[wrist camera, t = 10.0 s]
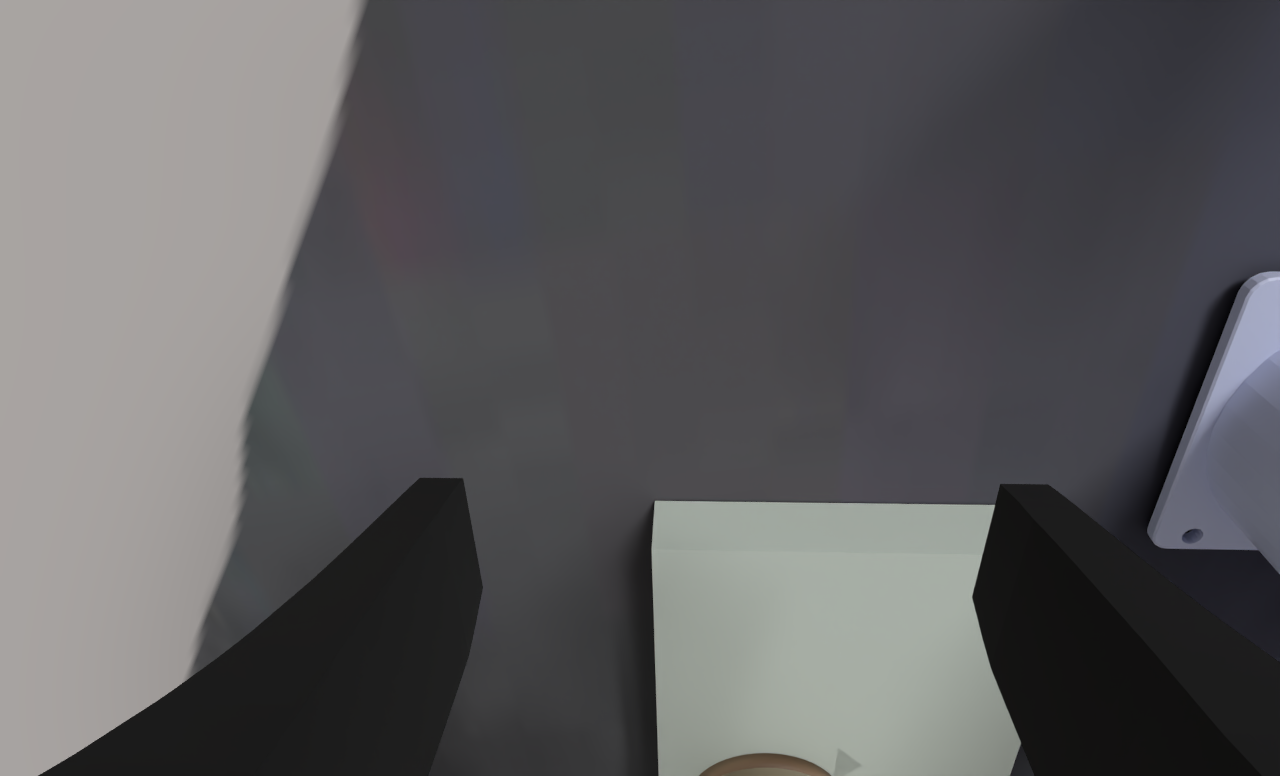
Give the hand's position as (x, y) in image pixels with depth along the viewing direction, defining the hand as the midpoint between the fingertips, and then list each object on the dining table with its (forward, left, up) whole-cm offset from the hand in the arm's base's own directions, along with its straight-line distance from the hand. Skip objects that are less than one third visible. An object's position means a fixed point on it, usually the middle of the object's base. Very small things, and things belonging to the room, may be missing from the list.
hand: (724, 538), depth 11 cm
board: (-4, +16, -9) cm, 19 cm away
